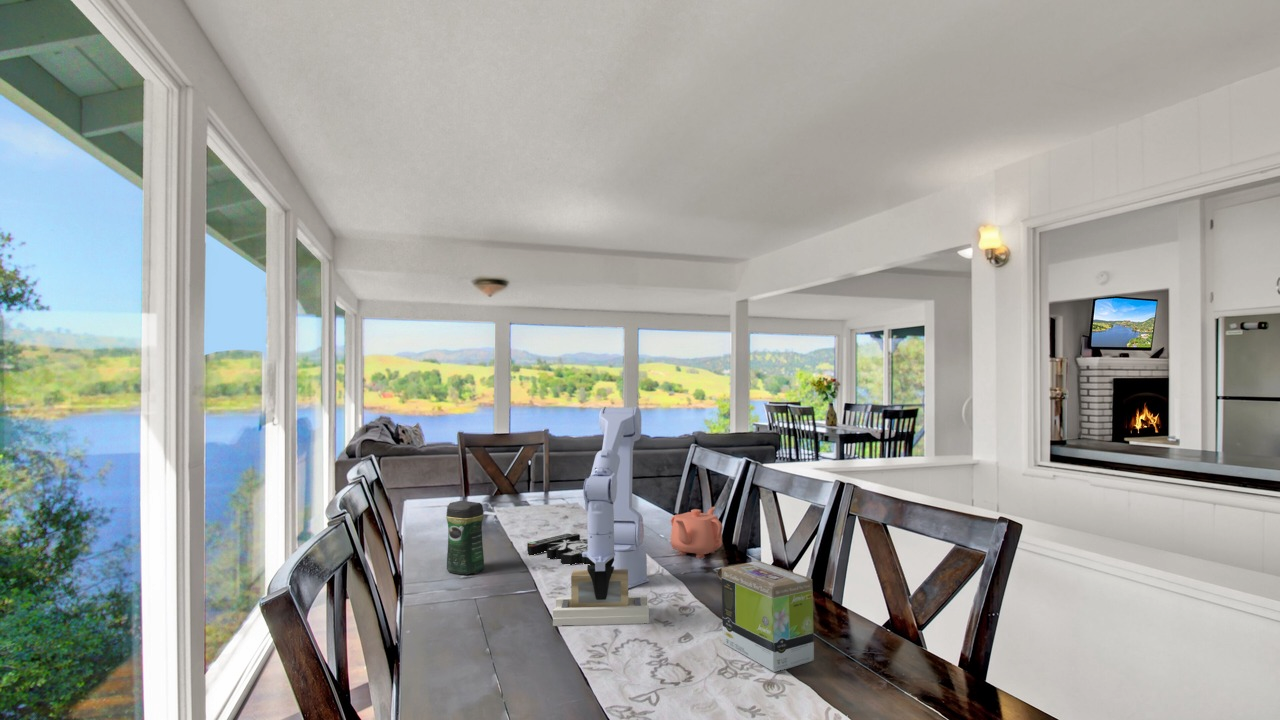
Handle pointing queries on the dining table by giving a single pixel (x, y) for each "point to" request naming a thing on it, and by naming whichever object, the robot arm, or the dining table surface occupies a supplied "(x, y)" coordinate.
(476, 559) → the coffee jar
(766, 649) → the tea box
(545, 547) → the sign
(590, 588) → the beige rectangular panel
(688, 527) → the teapot
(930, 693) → the dining table surface
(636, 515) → the robot arm
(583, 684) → the dining table surface
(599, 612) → the cream rectangular frame
